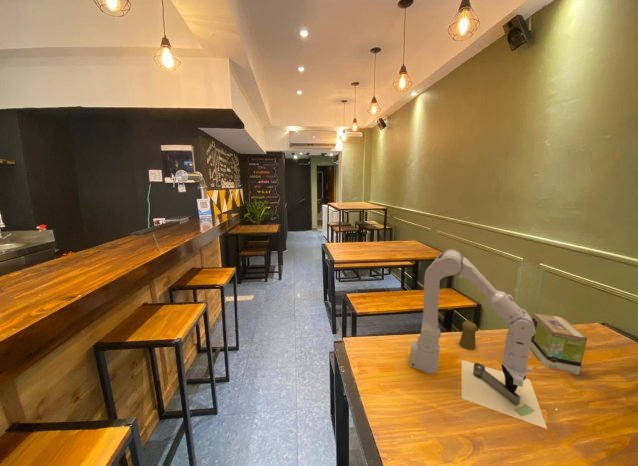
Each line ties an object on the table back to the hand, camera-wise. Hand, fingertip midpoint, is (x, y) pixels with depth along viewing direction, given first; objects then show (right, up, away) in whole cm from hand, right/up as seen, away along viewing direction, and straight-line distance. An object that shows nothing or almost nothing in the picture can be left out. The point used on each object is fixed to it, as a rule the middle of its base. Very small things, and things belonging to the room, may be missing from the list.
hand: (510, 390), depth 78 cm
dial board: (-2, -2, +3) cm, 4 cm away
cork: (+1, +2, +25) cm, 25 cm away
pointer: (-3, -1, +3) cm, 4 cm away
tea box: (+29, 0, +18) cm, 35 cm away
